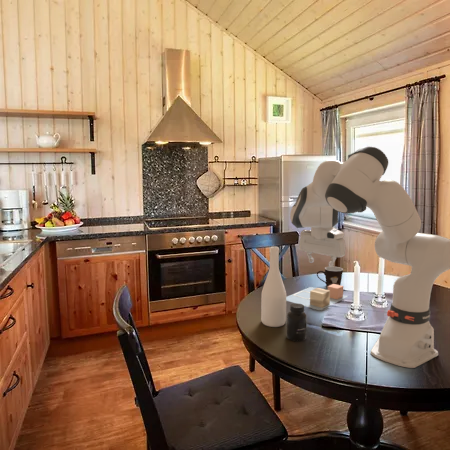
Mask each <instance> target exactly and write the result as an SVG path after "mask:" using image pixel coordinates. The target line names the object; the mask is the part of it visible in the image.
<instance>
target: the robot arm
mask: <svg viewBox="0 0 450 450" xmlns="http://www.w3.org/2000/svg"><path fill="white" fill-rule="evenodd" d="M346 159H347V160H345V161H343V162H341V161H340V160H337V159H327V160H324V161H323V162H321V163H320V164H319V165H318V167H317V168H316V170H315V172H314V175H313V178H312V182H311V183H309V184H308V185H306V186H304V187H303V188H302V189H301V190H300V192H299V194H298V195H297V198H296V201H295V202H294V204H293V205H292V207H291V210H290V213H289V215H290V216H289V218H290V223H291V224H292V226H294V227H295V228H296V229H303V228H310V229H303V230H301V231H300V235H299V236H300V239H299V246H298V248H299V250H300V251H301V252H306V256H307V258H308V263H311V264H312V263H314V262H315V258H314V257H313V256H312V254H317V255H323V256H328V257H330V259H331V260H330V261H328V266H327V267H330V266H331V267H332V266H333V267H335V266H334V264H335V262H336V260H337V258H343V257H344V256H345V255H346V242H345V239H344V237H345V233H344V232H343V231H341V230H339V229H337V228H336V225H337V224H338V223H339V213H341V214H355V213H363V212H365V211H366V210H367V209H370V211H371V212H372V213H373V214H374V217H375V219H376V220H377V222H378V224H379V227H380V228H381V231H380V233H378V235H377V237H376V238H375V241H374V250H375V253H376V255H377V256H378V257H379V258H381V259H383V260H386V261H389V262H391V263H394V264H400V265H405V266H410V267H411V270H410V273H409V274H405V275H402V276H400V277H398V278H397V279H396V280H395V281H394V283H393V286H392V287H393V288H392V302H391V303H390V307H389V309H388V310H387V312H386V316H387V319H386V321H385V323H384V325H383V327H382V330H381V333H380V335H379V337H378V338H377V340H376V341H375V343H374V344H373V346H372V348H371V350H370V354H371V355H372V356H373V357H375V358H376V359H379V360H381V361H383V362H386V363H388V364H391V365H395V366H399V367H404V368H409V369H414V368H417V367H419V366H421V365H423V364H425V363H427V362H428V361H431V360H432V359H434V358H436V357H438V356H439V351H438V350H437V349H435V348H434V347H435V346H434V345H435V343H434V342H435V341H434V340H435V335H434V334H435V332H434V331H435V329H434V327H433V326H432V325H431V323H430V320H431V308H430V300H431V293H432V288H433V287H434V286H433V285H434V283H435V282H436V280H437V279H438V277H440V276H441V275H443V273H445V272H447V271H449V270H450V238H447V237H445V236H441V235H438V234H431V233H423V232H420V230H421V229H422V228H421V227H422V220H421V217H420V214H419V213H418V210H417V208H416V206H415V203H414V202H413V200H412V198H411V197H410V195H409V193H408V192H407V191H406V190H405V189H404V187H403V185H401V183H399V182H397V181H395V180H392V179H385V180H381V178H382V177H383V176H384V174H385V173H386V171H387V169H388V166H389V159H388V157H387V155H386V154H385V152H383V150H381V149H380V148H378V147H376V146H372V145H371V146H370V145H367V146H362V147H360V148H359V149H357V150H355V151H354V152H352V153H350V154H348V155H347V158H346Z"/></svg>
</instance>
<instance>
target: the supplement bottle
mask: <svg viewBox="0 0 450 450" xmlns="http://www.w3.org/2000/svg"><path fill="white" fill-rule="evenodd" d="M307 317H308V316H307V313H306V312H305V306H304V305H302V304H298V303H291V304H290V307H289V311H288V313H286V338H287V339H289V340H290V341H292V342H302V341H305V340H306V338H307V322H308V321H307V319H308V318H307Z"/></svg>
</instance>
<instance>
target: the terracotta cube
mask: <svg viewBox="0 0 450 450" xmlns="http://www.w3.org/2000/svg"><path fill="white" fill-rule="evenodd" d="M327 290H329V291H330V298H333V299H339V298H341V297H343V295H344V285H342V284H341V285H336V284H332V285H329V286H328V287H327Z"/></svg>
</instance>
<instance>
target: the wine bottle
mask: <svg viewBox="0 0 450 450" xmlns="http://www.w3.org/2000/svg"><path fill="white" fill-rule="evenodd" d="M279 253H280V248H279V246H276V245H275V246H270V247H269V270H268V273H267V275H266V278H265V280H264V284H263V287H262V291H261V294H260V295H261V296H260V297H261V300H260V302H261V304H260V305H261V309H260V311H261V312H260V313H261V314H260V315H261V316H260V318H261V319H260V320H261V323H262V324H263V325H264V326H266V327H270V328H271V327H272V328H279V327H283V326H284V325H285V324H286V323H287V301H286V297H287V291H286V287H285V284H284V282H283V278H282V275H281V272H280V269H279V268H280V266H279V265H280V260H279V259H280V257H279Z"/></svg>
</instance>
